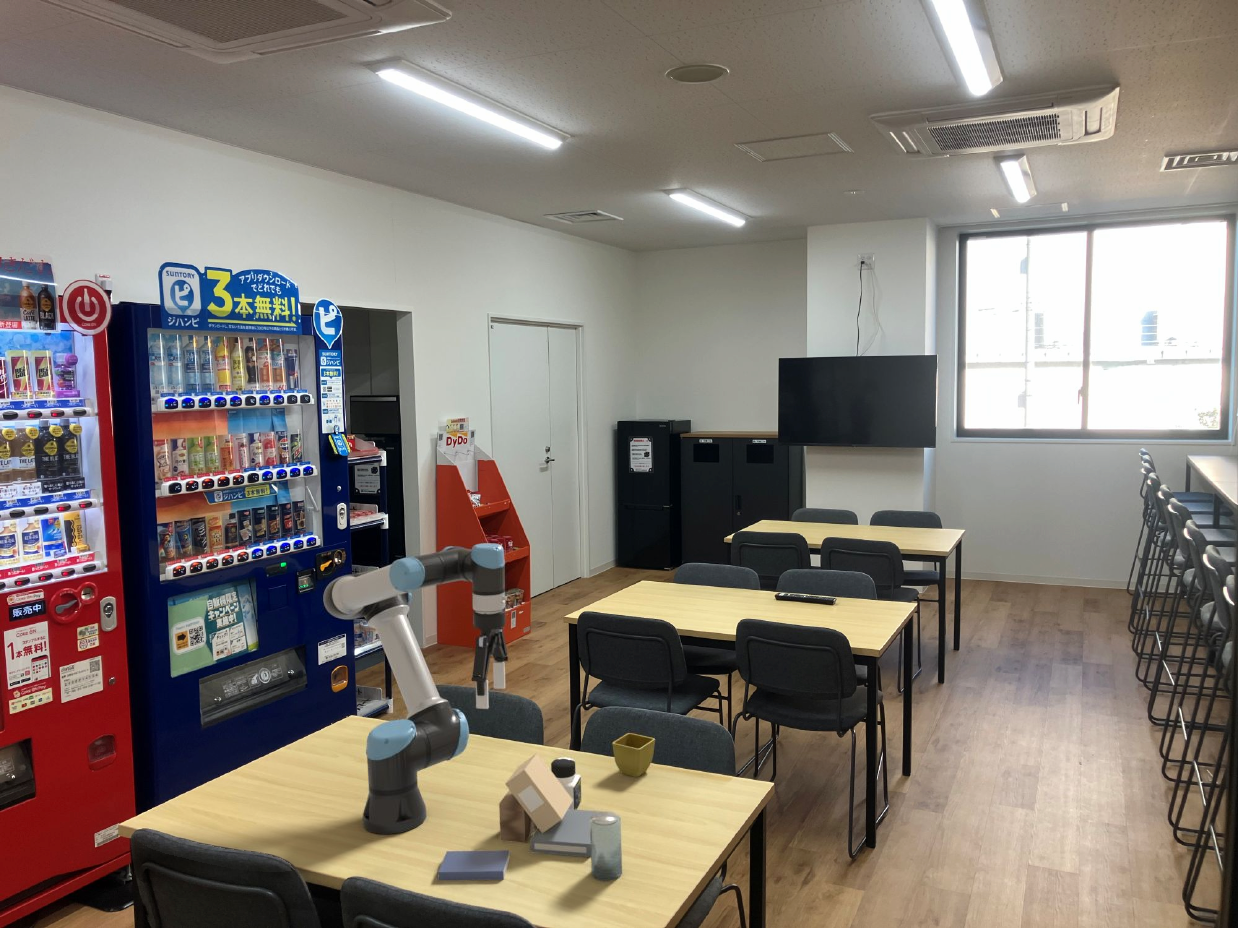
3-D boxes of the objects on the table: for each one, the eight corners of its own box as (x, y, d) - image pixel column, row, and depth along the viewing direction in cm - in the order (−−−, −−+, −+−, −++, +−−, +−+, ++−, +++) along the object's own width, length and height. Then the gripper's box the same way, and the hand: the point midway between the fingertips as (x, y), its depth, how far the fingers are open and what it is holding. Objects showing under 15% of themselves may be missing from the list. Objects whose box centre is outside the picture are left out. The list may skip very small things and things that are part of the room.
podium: (530, 852, 207) (530, 839, 207) (550, 819, 223) (550, 807, 223) (590, 857, 204) (590, 844, 204) (606, 823, 220) (606, 811, 220)
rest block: (500, 840, 213) (499, 803, 213) (511, 824, 221) (510, 788, 220) (525, 842, 212) (523, 804, 211) (535, 826, 220) (534, 790, 219)
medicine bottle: (574, 814, 226) (573, 766, 225) (546, 812, 227) (545, 765, 226) (581, 801, 233) (580, 755, 232) (554, 799, 234) (553, 754, 233)
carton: (542, 833, 210) (504, 783, 211) (554, 813, 220) (518, 766, 221) (561, 819, 209) (524, 769, 209) (573, 799, 218) (537, 752, 219)
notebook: (438, 882, 197) (438, 871, 197) (447, 861, 206) (446, 851, 205) (503, 881, 196) (503, 870, 196) (509, 860, 205) (509, 849, 205)
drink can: (588, 879, 195) (586, 823, 194) (595, 863, 202) (593, 809, 201) (618, 882, 194) (617, 825, 193) (624, 866, 200) (623, 811, 199)
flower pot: (656, 770, 251) (655, 737, 250) (640, 781, 243) (639, 748, 243) (629, 763, 256) (628, 732, 255) (612, 775, 248) (611, 742, 247)
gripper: (488, 624, 203) (490, 717, 205) (518, 597, 227) (520, 681, 229) (456, 623, 204) (458, 716, 206) (489, 596, 228) (491, 679, 230)
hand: (491, 697), depth 217 cm, fingers open, 13 cm apart
